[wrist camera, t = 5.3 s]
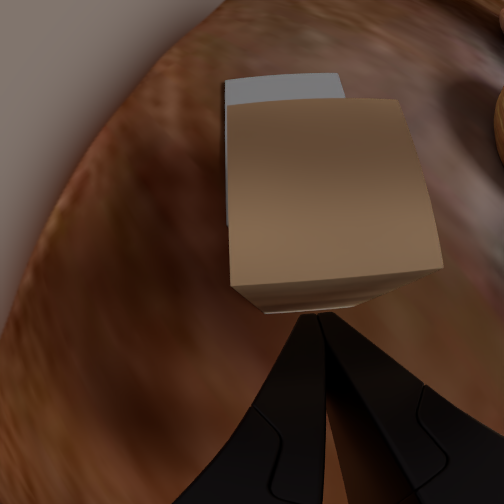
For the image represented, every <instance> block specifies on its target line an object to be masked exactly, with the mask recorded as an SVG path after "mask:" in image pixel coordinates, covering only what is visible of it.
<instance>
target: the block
mask: <svg viewBox="0 0 504 504" xmlns="http://www.w3.org/2000/svg"><path fill="white" fill-rule="evenodd" d="M227 169H228V219H229V255H230V285H231V287H232V288H234V289H235V290H236V291H237V292H238V293H240V294H241V295H242V296H243V297H245V298H246V299H247V300H248V301H250V302H251V303H252V304H253V305H255V306H256V307H257V308H258V309H260V310H261V311H262V312H263V313H265V314H271V313H286V312H300V311H313V310H324V309H335V308H346V307H353V306H356V305H358V304H361V303H363V302H366V301H368V300H371V299H373V298H376V297H378V296H381V295H383V294H385V293H388V292H390V291H393V290H395V289H397V288H400V287H402V286H404V285H407V284H409V283H411V282H413V281H416V280H418V279H420V278H422V277H425V276H427V275H429V274H431V273H433V272H436V271H438V270H440V269H442V268H444V267H443V260H442V254H441V249H440V243H439V238H438V233H437V228H436V223H435V219H434V214H433V210H432V206H431V202H430V198H429V194H428V190H427V186H426V182H425V179H424V175H423V172H422V168H421V165H420V162H419V158H418V155H417V152H416V149H415V146H414V143H413V140H412V137H411V134H410V131H409V128H408V126H407V123H406V120H405V118H404V115H403V112H402V110H401V107H400V105H399V102H398V100H393V99H372V98H315V99H292V100H277V101H265V102H254V103H245V104H236V105H228V106H227Z"/></svg>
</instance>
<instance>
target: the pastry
mask: <svg viewBox="0 0 504 504" xmlns="http://www.w3.org/2000/svg"><path fill="white" fill-rule="evenodd" d="M494 133H495V141H496V146H497V150H498V153H499V156H500V159H501V161H502V163H503V166H504V86H503V89H502V91H501V93H500V95H499V97H498V100H497V103H496V107H495V114H494Z"/></svg>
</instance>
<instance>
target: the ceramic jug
mask: <svg viewBox="0 0 504 504" xmlns="http://www.w3.org/2000/svg"><path fill="white" fill-rule="evenodd" d="M499 22H500V27H501V29H502V31H503V33H504V8H503V9H502V10H501V12H500V15H499Z"/></svg>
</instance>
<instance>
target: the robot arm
mask: <svg viewBox="0 0 504 504" xmlns="http://www.w3.org/2000/svg"><path fill="white" fill-rule="evenodd" d="M326 410H327V414H328V418H329V422H330V426H331V430H332V434H333V439H334V443H335V447H336V451H337V455H338V459H339V464H340V468H341V472H342V476H343V481H344V485H345V490H346V494H347V499H348V503H349V504H504V436H502V435H500V434H499V433H497V432H495V431H494V430H492V429H490V428H489V427H487V426H486V425H484V424H482V423H481V422H479V421H477V420H476V419H474V418H473V417H471V416H470V415H468V414H466V413H465V412H463V411H462V410H460V409H459V408H457V407H456V406H454V405H453V404H452V403H450V402H449V401H448V400H446V399H445V398H444V397H442V396H441V395H439V394H438V393H437V392H436V391H434V390H433V389H432V388H430V387H429V386H428V385H424V383H423V382H422V381H421V380H419V379H418V378H417V377H416V376H414V375H413V374H412V373H410V372H409V371H408V370H407V369H405V368H404V367H403V366H401V365H400V364H399V363H398V362H396V361H395V360H394V359H393V358H391V357H390V356H389V355H387V354H386V353H385V352H384V351H382V350H381V349H380V348H378V347H377V346H376V345H375V344H373V343H372V342H371V341H370V340H368V339H367V338H366V337H364V336H363V335H362V334H361V333H359V332H358V331H357V330H355V329H354V328H353V327H352V326H350V325H349V324H348V323H347V322H345V321H344V320H343V319H341V318H340V317H339V316H338V315H336V314H335V313H333V312H324V313H318V314H317V315H316V314H314V313H313V314H302V315H300V317H299V318H298V320H297V322H296V324H295V326H294V328H293V330H292V332H291V334H290V336H289V338H288V339H287V341H286V343H285V345H284V347H283V349H282V351H281V353H280V354H279V356H278V358H277V360H276V362H275V364H274V365H273V367H272V369H271V371H270V373H269V374H268V376H267V378H266V380H265V382H264V383H263V385H262V387H261V389H260V390H259V392H258V394H257V396H256V397H255V399H254V401H253V403H252V404H251V407H249V409H248V410H247V412H246V414H245V415H244V417H243V419H242V420H241V422H240V423H239V425H238V426H237V428H236V429H235V431H234V432H233V434H232V435H231V437H230V438H229V440H228V441H227V442H226V443H225V445H224V446H223V447H222V448H221V450H220V451H219V452H218V453H217V455H216V456H215V457H214V458H213V460H212V461H211V462H210V463H209V464H208V465H207V466H206V467H205V469H204V470H203V471H202V472H201V473H200V474H199V475H198V476H197V477H196V478H195V480H194V481H193V482H192V483H191V484H190V485H189V486H188V487H187V488H186V489H185V490H184V491H183V492H182V493H181V494H180V495H179V497H178V498H177V499H176V500H175V501H174V502H173V503H172V504H322V502H323V487H324V469H325V444H326Z"/></svg>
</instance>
